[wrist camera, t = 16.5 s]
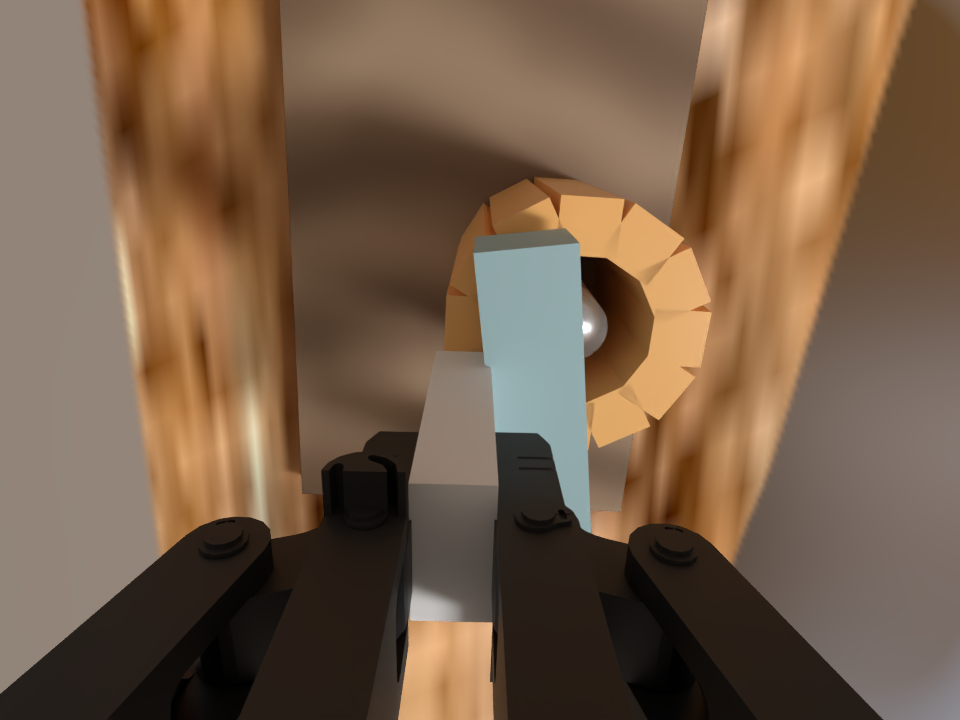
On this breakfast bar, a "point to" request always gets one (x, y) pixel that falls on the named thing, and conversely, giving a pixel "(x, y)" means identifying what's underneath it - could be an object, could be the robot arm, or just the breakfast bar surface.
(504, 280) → the bar
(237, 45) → the breakfast bar surface
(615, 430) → the collar
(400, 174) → the plate
